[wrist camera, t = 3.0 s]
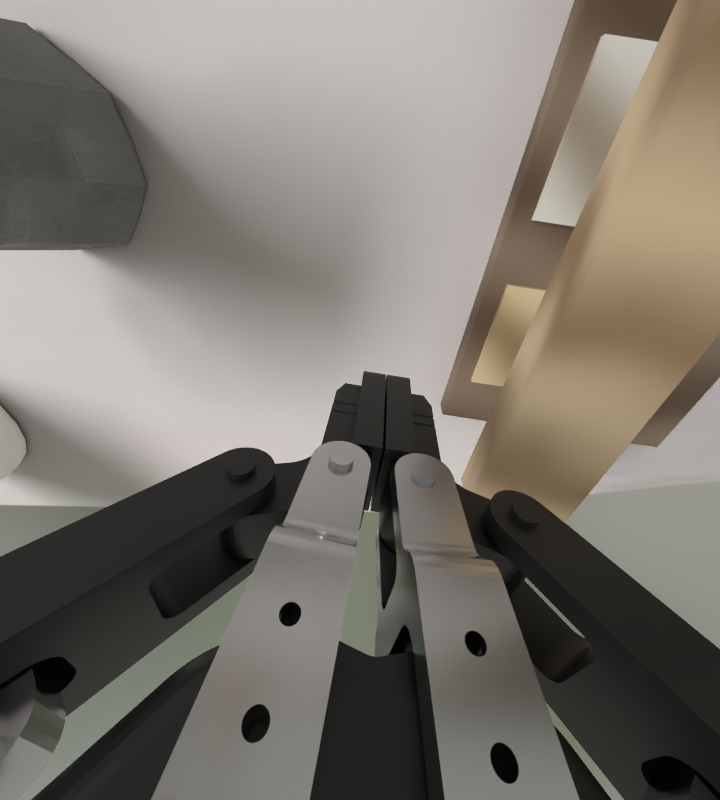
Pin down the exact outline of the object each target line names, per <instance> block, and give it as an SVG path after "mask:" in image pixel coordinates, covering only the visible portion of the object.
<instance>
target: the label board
mask: <svg viewBox="0 0 720 800" xmlns="http://www.w3.org/2000/svg"><path fill="white" fill-rule="evenodd" d="M676 2H677V0H575V2H574V5H573V8H572V11H571V14H570V17H569V20H568V23H567V26H566V29H565V32H564V35H563V38H562V41H561V44H560V47H559V50H558V53H557V56H556V59H555V62H554V65H553V68H552V71H551V74H550V77H549V80H548V83H547V86H546V89H545V92H544V95H543V98H542V101H541V104H540V107H539V110H538V113H537V116H536V119H535V122H534V125H533V128H532V131H531V134H530V137H529V140H528V143H527V146H526V149H525V152H524V155H523V158H522V161H521V164H520V167H519V170H518V173H517V176H516V179H515V182H514V185H513V188H512V191H511V194H510V197H509V200H508V203H507V206H506V209H505V212H504V215H503V218H502V221H501V224H500V227H499V230H498V233H497V236H496V239H495V242H494V245H493V248H492V251H491V254H490V257H489V260H488V263H487V266H486V269H485V272H484V275H483V278H482V281H481V284H480V287H479V290H478V293H477V296H476V299H475V302H474V305H473V309H472V312H471V315H470V318H469V321H468V324H467V327H466V330H465V333H464V336H463V339H462V342H461V345H460V348H459V351H458V354H457V357H456V360H455V363H454V366H453V369H452V372H451V375H450V378H449V381H448V384H447V387H446V390H445V393H444V396H443V399H442V402H441V408H442V413H443V414H445V415H451V416H458V417H464V418H471V419H477V420H484V421H487V420H488V418H489V416H490V413H491V411H492V409H493V407H494V405H495V402H496V400H497V398H498V396H499V394H500V391H501V389H502V387H503V385H504V382H505V380H506V378H507V376H508V374H509V371H510V369H511V367H512V365H513V363H514V360H515V358H516V356H517V354H518V351H519V349H520V347H521V345H522V343H523V340H524V338H525V336H526V334H527V332H528V329H529V327H530V325H531V323H532V320H533V318H534V316H535V314H536V312H537V309H538V307H539V305H540V303H541V301H542V298H543V296H544V294H545V292H546V290H547V287H548V285H549V283H550V281H551V278H552V276H553V274H554V272H555V270H556V267H557V265H558V263H559V261H560V259H561V256H562V254H563V252H564V250H565V247H566V245H567V243H568V241H569V239H570V236H571V234H572V232H573V230H574V228H575V225H576V223H577V221H578V219H579V216H580V214H581V212H582V210H583V208H584V205H585V203H586V201H587V199H588V197H589V194H590V192H591V190H592V188H593V185H594V183H595V181H596V179H597V177H598V174H599V172H600V170H601V168H602V166H603V163H604V161H605V159H606V157H607V154H608V152H609V150H610V148H611V146H612V143H613V141H614V139H615V137H616V135H617V132H618V130H619V128H620V126H621V124H622V121H623V119H624V117H625V115H626V112H627V110H628V108H629V106H630V104H631V101H632V99H633V97H634V95H635V93H636V90H637V88H638V86H639V84H640V81H641V79H642V77H643V75H644V73H645V70H646V68H647V66H648V64H649V62H650V59H651V57H652V55H653V53H654V50H655V48H656V46H657V44H658V42H659V39H660V37H661V35H662V33H663V31H664V28H665V26H666V24H667V22H668V19H669V17H670V15H671V13H672V11H673V8H674V6H675V4H676ZM719 377H720V334H719V335H718V337H717V338H716V339H715V340H714V341H713V343H712V344H711V345H710V346H709V348H708V349H707V350H706V351H705V352H704V354H703V355H702V356H701V357H700V358H699V360H698V361H697V362H696V363H695V365H694V366H693V367H692V368H691V369H690V371H689V372H688V373H687V374H686V376H685V377H684V378H683V379H682V380H681V382H680V383H679V384H678V385H677V386H676V388H675V389H674V390H673V391H672V393H671V394H670V395H669V396H668V397H667V399H666V400H665V401H664V402H663V404H662V405H661V406H660V407H659V408H658V410H657V411H656V412H655V413H654V414H653V416H652V417H651V418H650V419H649V421H648V422H647V423H646V424H645V425H644V427H643V428H642V429H641V430H640V432H639V433H638V434H637V435H636V436H635V438H634V439H633V440H632V441H631V442H630V443H634V444H641V445H647V446H654V447H657V446H658V445H659V444H660V443H661V442H662V441H663V440H664V439H665V437H666V436H667V435H668V434H669V433H670V432H671V431H672V430H673V428H674V427H675V426H676V425H677V424H678V423H679V422H680V421H681V420H682V418H683V417H684V416H685V415H686V414H687V413H688V412H689V411H690V409H691V408H692V407H693V406H694V405H695V404H696V403H697V402H698V401H699V399H700V398H701V397H702V396H703V395H704V394H705V393H706V392H707V390H708V389H709V388H710V387H711V386H712V385H713V384H714V383H715V382H716V380H717V379H718V378H719Z"/></svg>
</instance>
